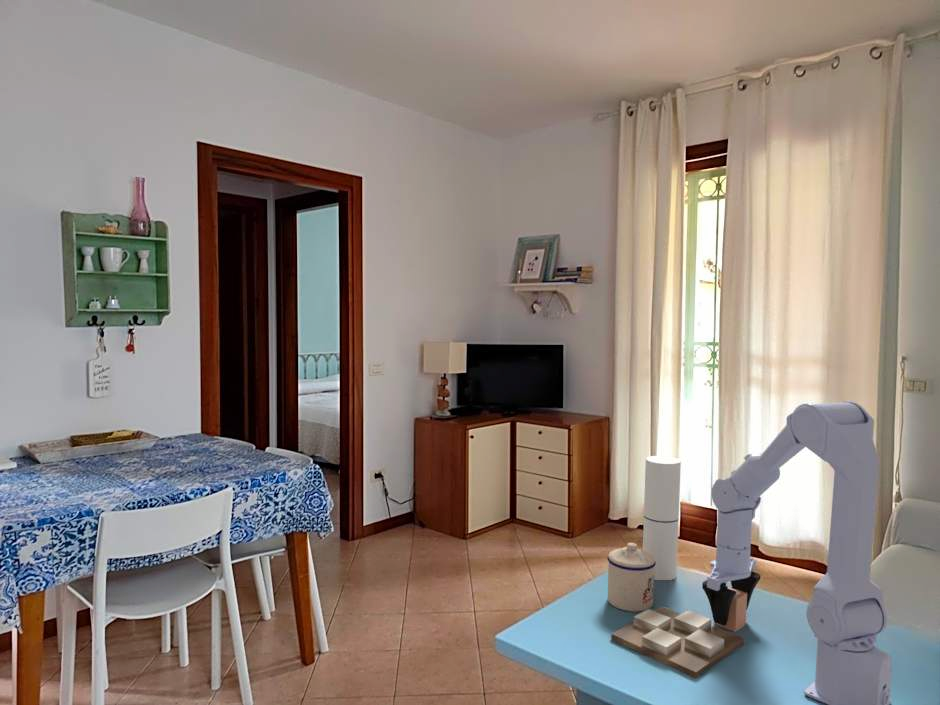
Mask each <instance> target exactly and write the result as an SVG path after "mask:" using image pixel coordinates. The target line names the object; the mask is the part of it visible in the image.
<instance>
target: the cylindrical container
mask: <svg viewBox="0 0 940 705" xmlns="http://www.w3.org/2000/svg"><path fill="white" fill-rule="evenodd" d="M681 461H682V460H681V459H680V458H677V457H674V456H668V455H667V456H666V455H651V456H647V457H646V458H645V472H644V474H645V475H644V498H643V499H644V503H643V528H642V529H643V530H642V532H643V533H642V551H645V552H647V553H649V554H651V555H652V556H653V557H654V559H655V562H656V564H655V566H654V579H655V580H654V581H659V580H669V581H672V579H673V580H675V579H676V578H677V574H678V573H677V572H678V546H679V545H678V543H679V538H678V537H679V523H680V522H679V520H680V514H679V513H680V490H681V467H682V466H681V464H682V462H681Z"/></svg>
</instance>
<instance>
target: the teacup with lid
mask: <svg viewBox="0 0 940 705" xmlns="http://www.w3.org/2000/svg"><path fill="white" fill-rule="evenodd" d="M608 553H609V554H608V556H607V562H608V571H607V572H608V574H607V575H608V576H607V578H608V579H607V600H608V603H610V604H611V605H612V606H613V607H615V608H617V609H619V610H622V611H626V612H644V611H646V610H648V609H651V607H652V606H653V605H654V588H655V587H654V585H655V580H654V566H655V564H656V562H655V559H654V557H653V556H652V555H651V554H649V553H647V552H645V551H643V549H640V548H638V545H637V544H636V543H635V542H628V543H627V544H626V546H624V547H622V548H617V549H616V548H615V549H613V550H611V551H610V552H608ZM652 608H653V607H652Z"/></svg>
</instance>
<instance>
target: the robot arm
mask: <svg viewBox="0 0 940 705" xmlns="http://www.w3.org/2000/svg"><path fill="white" fill-rule="evenodd" d="M874 427H875V419H874V418H873V417H872V416H871V414H869V412H867V410H866V409H865V408H864V407H863V406H862V405H861V404H859V403H858V402H856V401H852V400H845V401H841V402H827V403H801V404H800V405H798V406H797V407H795V409H794V410H793V412H792V413H790V414H789V415H787V416H786V424H785V426H784V427H783V428H782V429H781V431H779V433H778V434H777V435H776V436H775V438H774V439H773V440H772V441H771V442H770V444H769V445H768V446H767V447H766V448H765V450H764V451H763V452H762V453H761V452H754V453H748V454H746V455H745V456H744V457H743V458H744V461H743V462H742V463H741V465H740V466H739V467H738V468H736V469H734V470H732V472H730V476H729V477H727V478H719V479H716V480H715V481H714V483H713V484H712V487H711V500H712V502H713V505H714V507H715V508H716V509H717V527H716V528H717V529H716V552H715V559H714V560H712V561H710V562H709V566H710V567H711V568H712V571H711V573H710V575H709V576H707V578H706V580H704V581H702V590H703V591H704V593H705V595H706V597H707V599H708V602H709V606H710V609H711V614H712V620H713V622H715V623H718V624H721V625H723V626H725V625H726V624H727V621H728V617H729V610H730V606H731V603H732V600H733V598H734V596H735V594H736V593H737V592H736V591H734V590H731V589H728V587H729V586H727V583H728V582H730V584H731V588H733V589H736V590H739V591H742V592H745V593H747V608H746V612H747V610H748V608H749V605H750V602H751V598H752V595H753V592H754V590H755V588H756V586H757V584H758V583H759V581H760V580H761V577H762V576H761V574H760V573H758V572H756V571H755V570H756V569H757V568H756V565H757V564H756V562H757V559H756V558H752V557H751V549H752V548H751V544H752V526H753V525H752V522H753V520H754V519H755V517H756V510H757V509H758V507H760V504H761V500H762V497H761V496H762V495H763V494H764V493H765V492H766V491H768V489H770V488H771V486H773V485H774V483H776V482H777V481H778V480H779V479H780V476H781V471H780V470H781V469H780V468H781V467H783V466H784V465H785V464H786V463H788V462H789V461H790V460H791V459H792V458H794V457H795V456H796V455H797V454H799V453H800V452H801V451H802V450H804V449H805V448H807V449H808V450H809V451H810V452H812V453H813V454H815V455H816V456H818V457H819V458H820V459H821V460H822V461H824V462H825V463H827V464H828V465H829V466H830V467H831V468H832V469H833V471H834V475H833V488H832V489H833V490H832V502H831V513H830V514H831V517H830V529H829V530H830V531H829V542H828V553H827V554H828V556H827V568H826V573H825V574H824V575H823V577H822V578H820V580H819V581H818V582H817V583H815V585H814V587H813V593H812V598H811V599H810V601H809V602H808V604H807V607H806V619H807V623H808V625H809V627H810V630H811V631H812V633H813V634H814V637H816V638H817V639H816V640H817V641H816V643H817V644H816V659H815V674H814V675H815V676H814V677H815V678H814V679H815V680H814V681H813V682H812V683H811V684H810V685H808V686H807V688H805V690H803V694H804V695H805V696H807V697H809V698H812V699H814V700H817V701H818V702H822V703H823V704H826V705H890V704H891V702H892V699H891V684H892V683H891V682H892V672H893V671H892V670H893V660H892V656H891V655H890V654H889V653H888V652H885V651H883V650H882V649H880V648H878V647H877V646H876V645H875V643H877V635H879V634H881V633H882V632H884V630H885V629H886V627H887V624H888V616H887V612H886V609H885V605H884V600H883V598H884V591H883V590H882V588H880V586H878V585H877V584H876V583H875V582H874V581H872V580H871V568H872V557H873V545H874V533H875V532H874V531H875V520H876V507H877V496H878V495H877V494H878V484H879V483H878V482H879V472H880V461H879V456H878V453H877V449H876V446H875V445H876V444H875V443H874V439H873V438H874Z"/></svg>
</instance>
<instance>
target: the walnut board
mask: <svg viewBox="0 0 940 705" xmlns="http://www.w3.org/2000/svg"><path fill="white" fill-rule="evenodd" d="M610 639H611V640H612V641H614V642H616V643H618V644H621V645H623V646H625V647H626V648H630V649H631V650H633V651H635V652H638V653H640V654H642V655H644V656H646V657H649V658H650V659H653V660H655V661H657V662H659V663H661V664H663V665H666V666H668V667H670V668H672V669H674V670H677V671H679V672H681V673H683V674H686V675H687V676H690V677H692V678H694V679H697V678H699V677H700V676H702V675H703V674H704V673H706V672H707V671H708V670H710V669H711V668H712V667H714V666H716V665H717V664H718V663H719V662H721V661H722V660H723V659H725V658H727V656H729V655H731V654H733V653H734V652H735V651H736V650H737V649H739V648H740V647H742V646H743V645H744V644H745V638H744V637H741V636H739V635H737V634H734V633H732V632H729V631H727V630H723V629H721V628H719V627H716V626H713V625H712V619H711V618H709V617H706V616H704V615H701V614H698V613H696V612H693V611H691V610H686V611H683V613H681V612H678V611H675V610H672V609H670V608H667V607H665V606H663V605H662V606H660V607H658V608H656V609H654V610H652V609H651V608H649V609H647V610H644V611H641V612H640V613H637V614H636V615H635V616H634V617H633V621H632V622H630V623H628V624H627V625H625V626H624V627H621V628H619V629H618V630H616V631H614V632H612V633H611V638H610Z"/></svg>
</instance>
